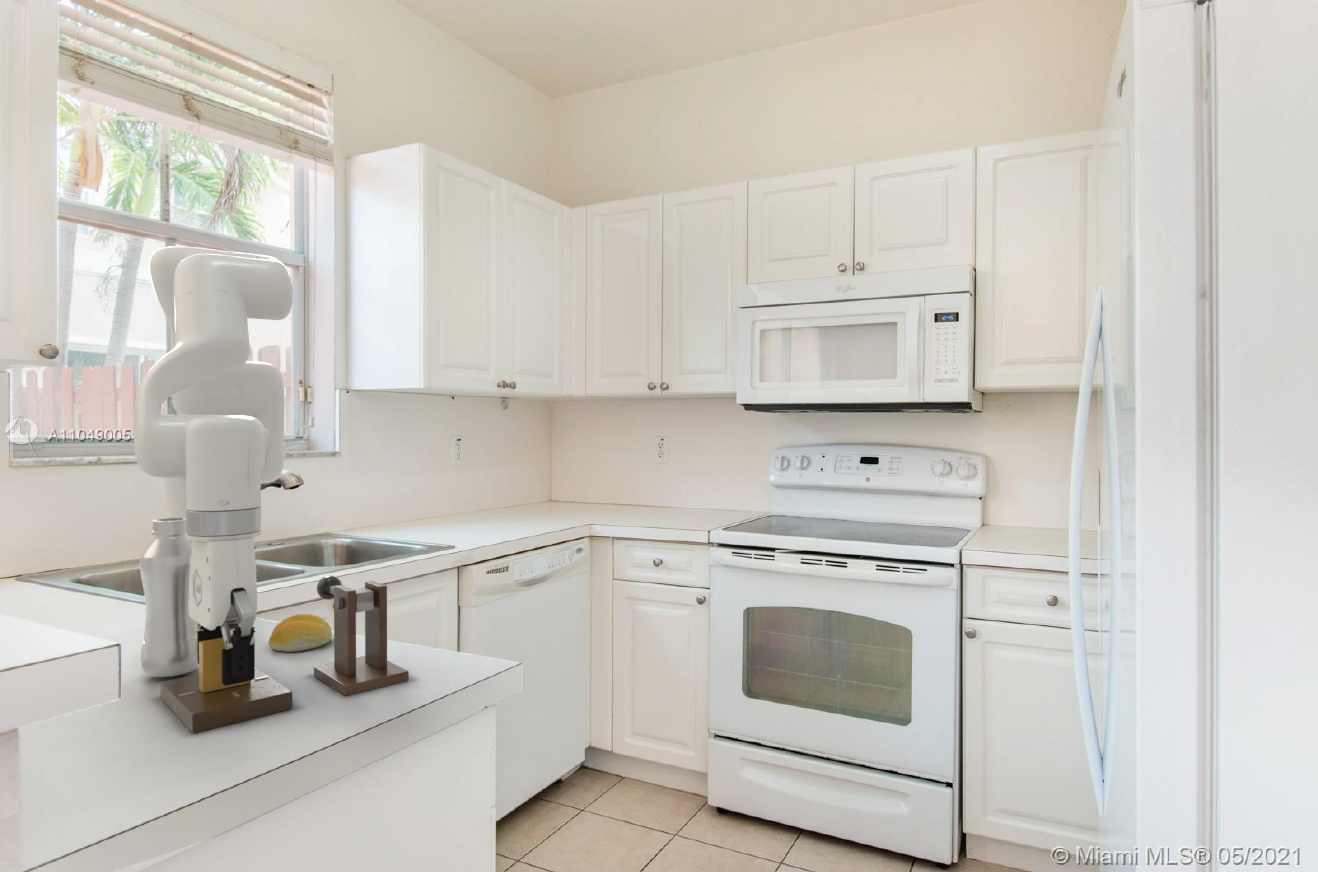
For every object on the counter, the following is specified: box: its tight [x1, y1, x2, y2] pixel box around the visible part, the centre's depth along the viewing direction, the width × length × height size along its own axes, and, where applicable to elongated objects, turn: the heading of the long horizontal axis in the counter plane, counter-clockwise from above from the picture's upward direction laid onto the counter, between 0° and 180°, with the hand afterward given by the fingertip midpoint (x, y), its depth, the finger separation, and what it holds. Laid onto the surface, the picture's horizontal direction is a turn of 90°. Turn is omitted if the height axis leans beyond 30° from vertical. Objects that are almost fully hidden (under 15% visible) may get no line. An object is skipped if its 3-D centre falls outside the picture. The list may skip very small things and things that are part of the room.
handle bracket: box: [313, 580, 410, 696], centre depth 98 cm, size 10×8×12 cm
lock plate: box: [160, 665, 293, 734], centre depth 89 cm, size 14×10×2 cm
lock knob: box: [198, 638, 251, 693], centre depth 89 cm, size 5×2×6 cm, turn 134°
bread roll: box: [268, 613, 333, 653], centre depth 113 cm, size 8×9×4 cm
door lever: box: [316, 575, 374, 613], centre depth 102 cm, size 13×3×3 cm, turn 44°
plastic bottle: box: [139, 517, 199, 678], centre depth 99 cm, size 6×7×20 cm
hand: (225, 671), depth 89 cm, fingers open, 9 cm apart
